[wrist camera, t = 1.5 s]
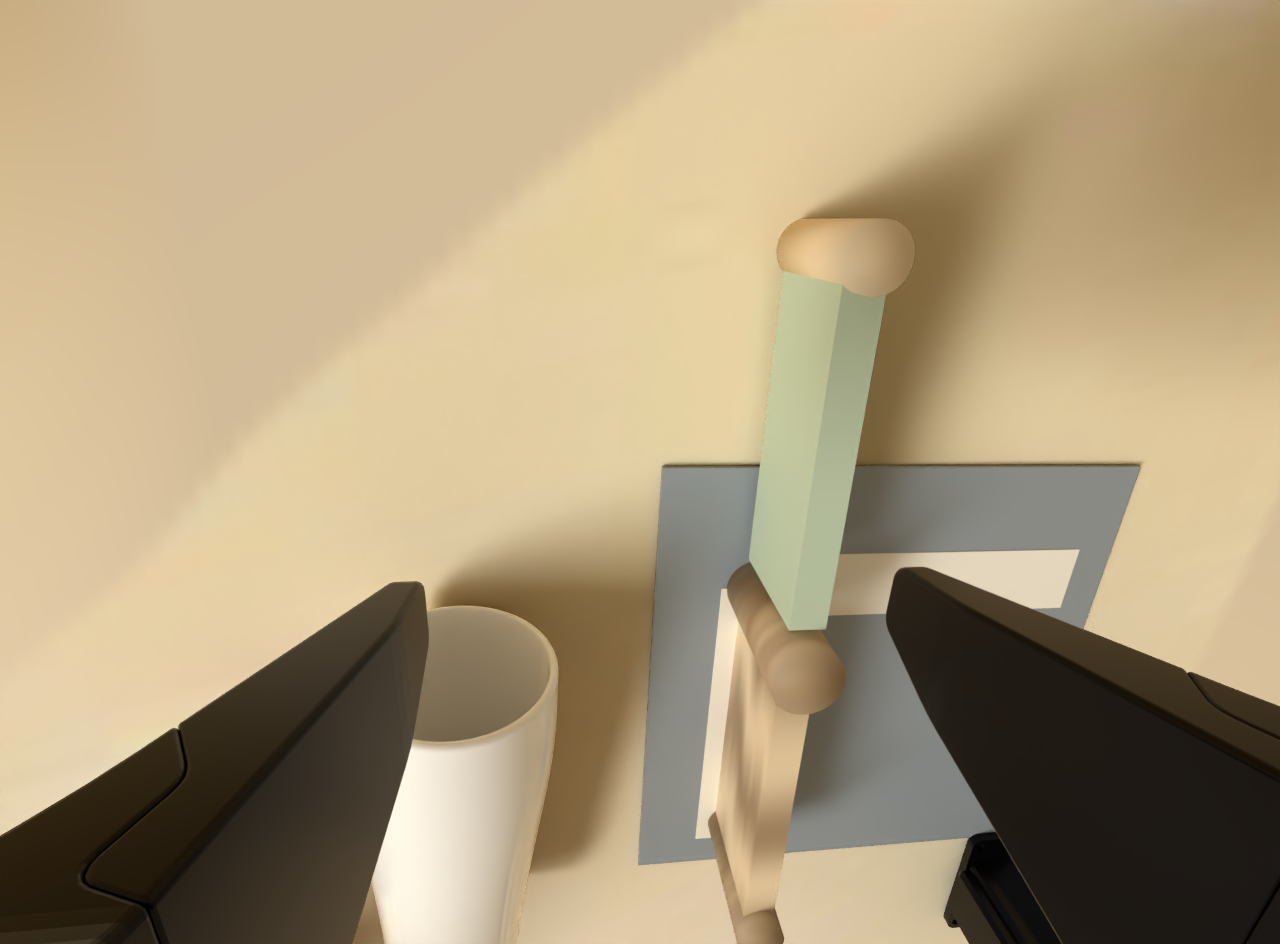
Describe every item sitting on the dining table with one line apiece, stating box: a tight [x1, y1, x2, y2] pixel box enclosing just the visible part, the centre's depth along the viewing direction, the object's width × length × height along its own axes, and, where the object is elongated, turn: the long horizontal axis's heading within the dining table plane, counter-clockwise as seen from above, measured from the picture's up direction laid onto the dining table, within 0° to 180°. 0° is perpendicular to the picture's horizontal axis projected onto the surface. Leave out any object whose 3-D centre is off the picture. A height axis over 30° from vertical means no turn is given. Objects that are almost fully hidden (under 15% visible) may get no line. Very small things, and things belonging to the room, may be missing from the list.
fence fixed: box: [708, 562, 846, 944], centre depth 24 cm, size 15×2×6 cm, turn 177°
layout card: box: [638, 465, 1141, 865], centre depth 27 cm, size 19×20×1 cm
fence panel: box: [749, 218, 915, 631], centre depth 19 cm, size 12×2×5 cm, turn 177°
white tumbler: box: [371, 605, 559, 944], centre depth 24 cm, size 7×7×15 cm
